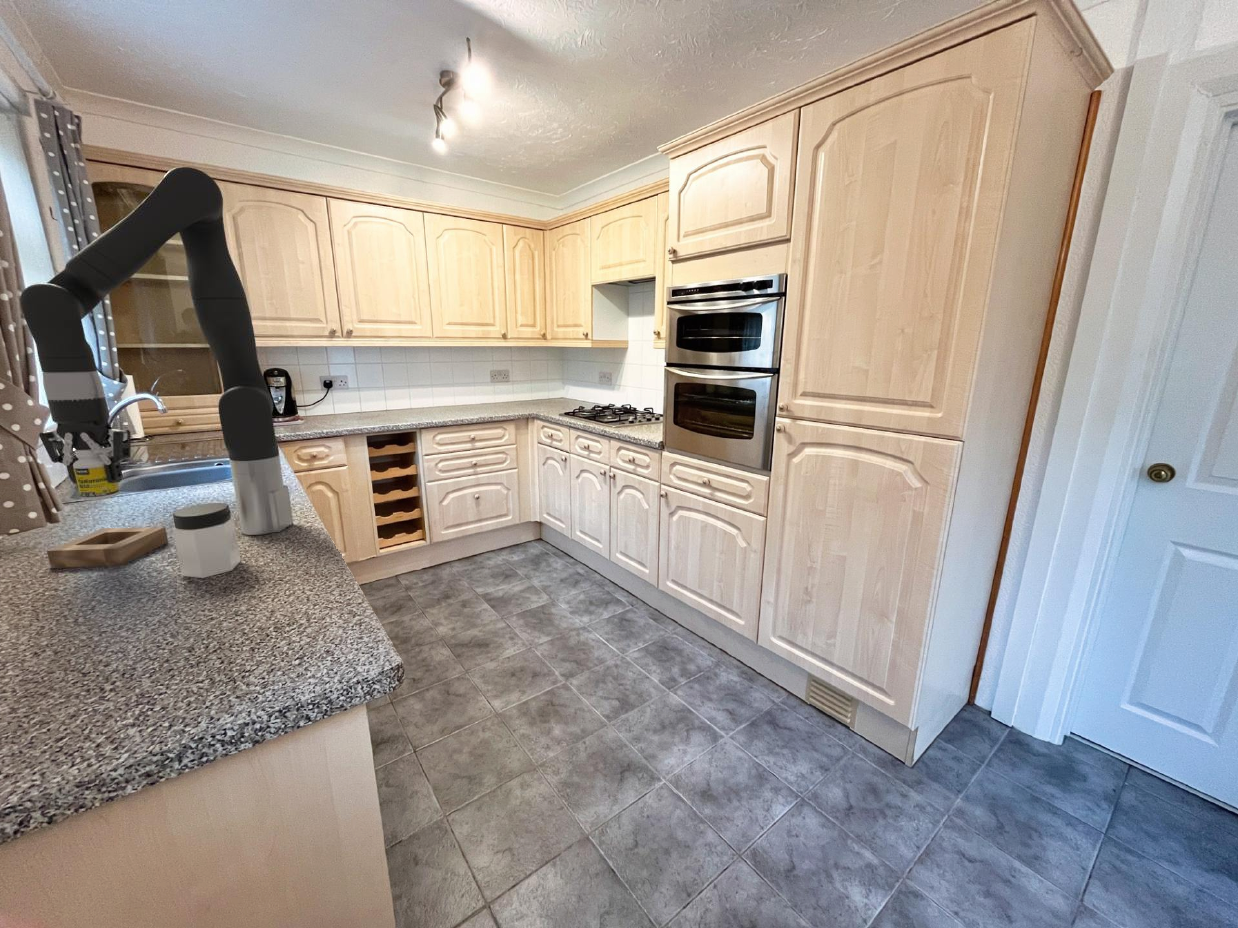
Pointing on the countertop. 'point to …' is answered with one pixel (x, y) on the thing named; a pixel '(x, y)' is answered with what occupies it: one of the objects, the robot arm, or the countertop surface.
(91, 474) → the supplement bottle
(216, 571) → the jar
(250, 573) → the countertop surface
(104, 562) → the socket block
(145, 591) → the countertop surface
